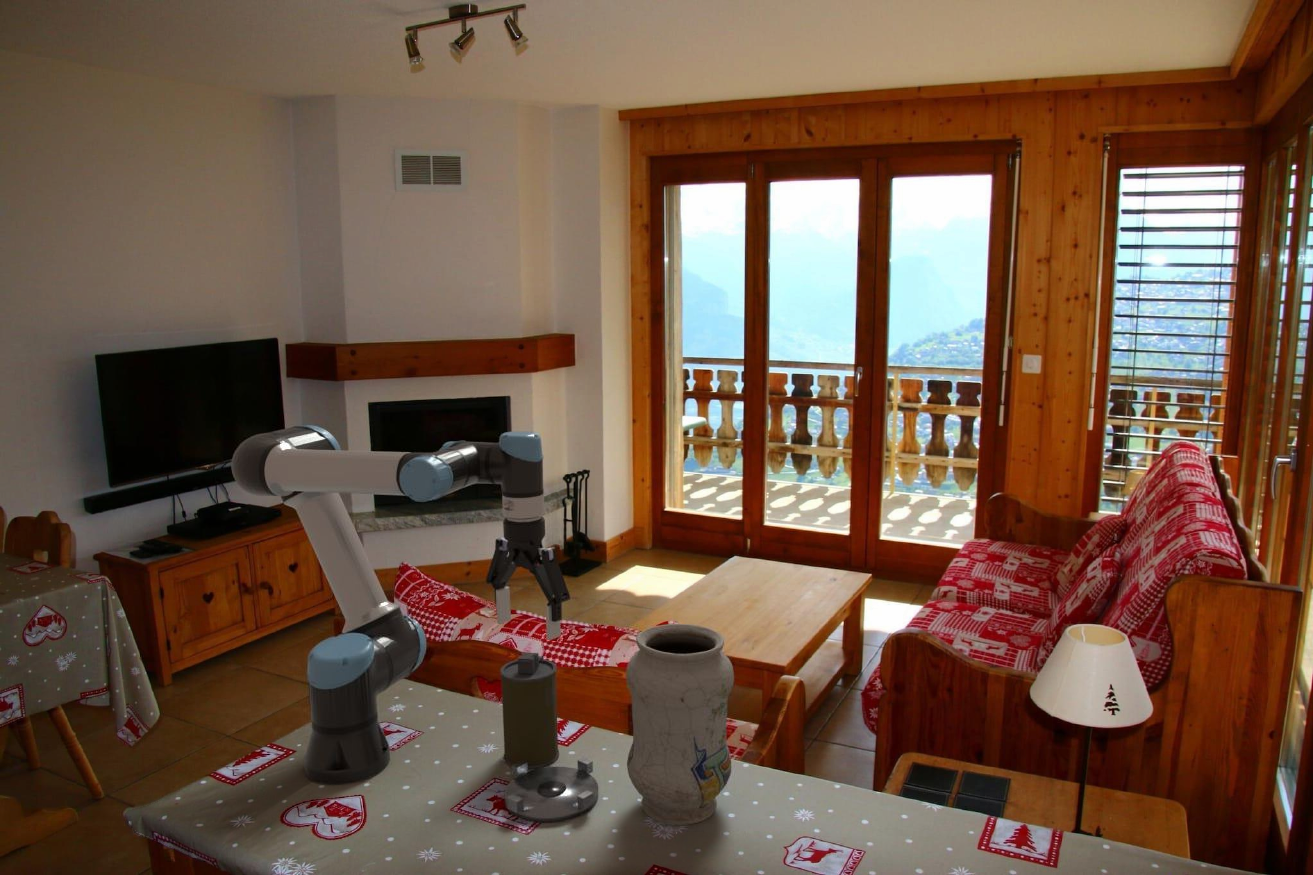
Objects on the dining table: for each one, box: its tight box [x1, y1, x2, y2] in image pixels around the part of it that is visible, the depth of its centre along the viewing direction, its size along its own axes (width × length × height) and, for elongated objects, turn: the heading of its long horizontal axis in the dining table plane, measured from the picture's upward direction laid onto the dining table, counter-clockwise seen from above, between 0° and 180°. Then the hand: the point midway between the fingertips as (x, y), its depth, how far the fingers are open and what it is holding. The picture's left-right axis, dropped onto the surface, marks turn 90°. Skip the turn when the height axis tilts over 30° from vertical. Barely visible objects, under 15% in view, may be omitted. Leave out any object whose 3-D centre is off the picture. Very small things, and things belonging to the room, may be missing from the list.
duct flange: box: [504, 756, 599, 824], centre depth 165 cm, size 18×18×4 cm
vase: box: [625, 623, 735, 826], centre depth 159 cm, size 18×18×30 cm
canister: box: [499, 651, 560, 771], centre depth 178 cm, size 11×10×20 cm
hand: (528, 629), depth 176 cm, fingers open, 13 cm apart
